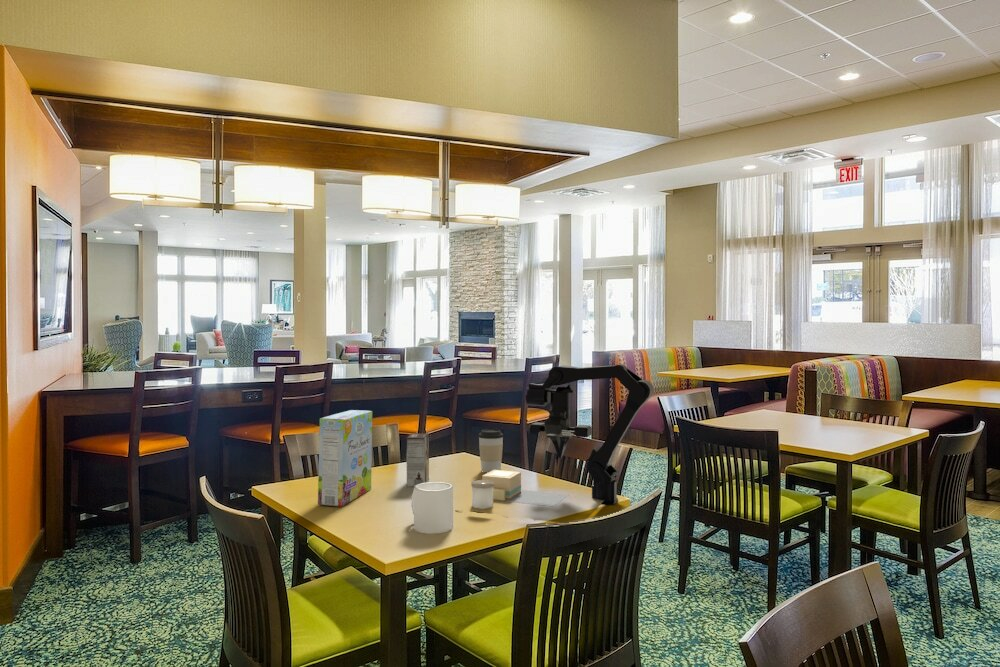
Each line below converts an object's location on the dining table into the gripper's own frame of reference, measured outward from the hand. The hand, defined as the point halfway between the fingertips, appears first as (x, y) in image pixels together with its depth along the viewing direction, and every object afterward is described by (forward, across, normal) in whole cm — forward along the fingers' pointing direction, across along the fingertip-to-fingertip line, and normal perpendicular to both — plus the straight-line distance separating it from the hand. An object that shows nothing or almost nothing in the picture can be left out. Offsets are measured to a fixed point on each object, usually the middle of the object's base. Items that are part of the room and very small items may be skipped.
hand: (560, 457), depth 201 cm
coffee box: (+12, -49, -2) cm, 51 cm away
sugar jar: (+12, -16, -22) cm, 30 cm away
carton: (+11, -16, -8) cm, 21 cm away
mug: (+12, -22, -41) cm, 48 cm away
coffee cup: (+12, -34, +24) cm, 43 cm away
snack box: (+12, -60, -26) cm, 66 cm away
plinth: (+12, -10, -8) cm, 17 cm away
